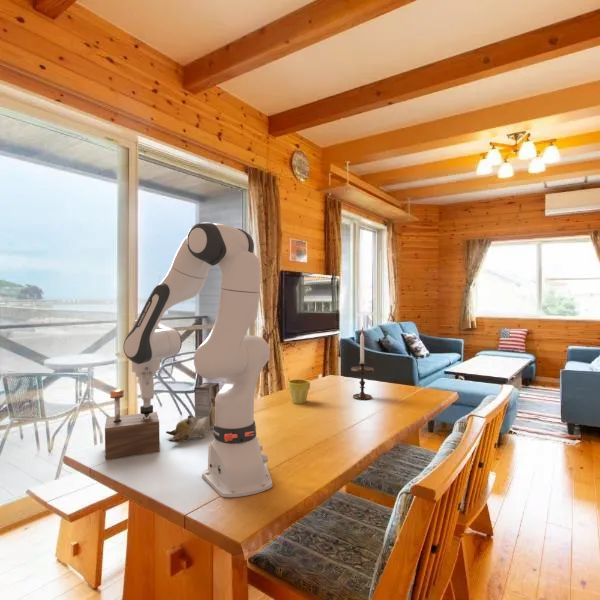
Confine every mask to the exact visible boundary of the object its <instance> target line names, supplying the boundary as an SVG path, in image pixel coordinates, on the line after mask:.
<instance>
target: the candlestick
mask: <svg viewBox="0 0 600 600" xmlns="http://www.w3.org/2000/svg"><path fill="white" fill-rule="evenodd" d="M363 332H364V328H363V326H362V327H361V334H360V336H359V337H360V338H359V342H360V343H359V347H360V348H359V353H360V354H359V357H360V358H359V359H360V360H359V362H358V364H359V366H357V365H356V366H352V367H350V371H351V372H354V373H359V374H360V381H359V385H360V386H359V388H360V393H356V394H353V395H352V399H354V400H358V401H369V400H371V399H372V398H373V397H372V395H371V394H369V393H365V390H364V389H365V388H366V387H365V384H366V381H365V379H364V377H365V376H364V375H365V374H366V373H368V374H369V373H372V372H373V373H374V371H375V370H374V367H371V366H365V364H367V362H365V335H364V333H363Z"/></svg>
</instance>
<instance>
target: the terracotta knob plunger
mask: <svg viewBox="0 0 600 600" xmlns="http://www.w3.org/2000/svg"><path fill="white" fill-rule="evenodd" d="M124 391H125V390H124V389H122V388H121V389H120V388H119V389H112V390H110V392H109V393H110V394H109V395H110V397H109V398H110V399H113V400H114V416H115V423H116V422H120V416H121V398H124V396H125V393H124Z"/></svg>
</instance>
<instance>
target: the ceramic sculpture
mask: <svg viewBox="0 0 600 600" xmlns="http://www.w3.org/2000/svg"><path fill="white" fill-rule="evenodd" d="M208 428H209V416H208V417H205V418H202V419H196V417H195V415H188V416H187V418H184V419H181V420H179V421H178V422H177V423H176V426H175V429H173V430H171V431H165V433H166V434H168V435H169V436H172V437H171V438H170V439H168V440H167V441H168V442H170V443H182V442H184V441H189V440H193V439H194V438H197V437H199V438H201V439H204V438H205V437H206V436H207V433H208V431H209V430H208Z"/></svg>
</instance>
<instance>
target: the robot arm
mask: <svg viewBox="0 0 600 600" xmlns="http://www.w3.org/2000/svg"><path fill="white" fill-rule="evenodd" d="M254 250H255V243H254V239H253V238H252V236H251V234H250V233H248V232H246V231H245V230H243V229H241V228H235V227H233V226H229V225H227V224H223V223H213V222H210V221H207V222H199V223H196V224H194V225H192V226H191V228H189V230H188V232H187V235H186V237H185V238H184V239H183V240H182V241H181V243H180V245H179V247H178V249H177V251H176V253H175V255H174V258H173V260H172V263H171V266H170V268H169V270H168V272H167V273H166V275H165V276H164V278H163V279H162V280H161V282H160V283H158V284H157V285H156V286H155V287H154V288H153V290H152V291H151V293H150V295H149V297H148V298H147V300H146V302H145V304H144V307H143V308H142V310H141V312H140V314H139V316H138V318H137V319H135V320H134V321H133V323H132V327H131V328H132V329H131V330H130V332H128V333H127V336H126V337H125V339H124V341H123V346H122V347H123V353H124V354H125V356H126V357H127V359H129V360H130V361H131V372H132V373H135V376H136V377H137V378H138V384H139V389H140V397H141V400H143V401H142V402H143V403H142V404H143V405H144V407H145V408H146V407H149V406H150V405H151V404H150V401H151V400H153V399H154V398H155V397H154V396H155V393H154V392H155V391H154V390H155V388H154V387H155V385H154V384H155V383H154V376H156V375H157V372H159V371H160V369H161V363H160V362H161V360H162V359H166V358H171V357H175V356H176V355H178V354H179V352H180V351H181V349H182V347H183V346H182V345H183V344H182V343H183V341H182V339H183V338H182V335H181V334H180V333H179V332H180V331H178V330H177V329H175V328H173V327H169V326H167V325H165V324H163V323H161V322H160V321H161V319H162V318H163V316H164V314H165V313H166V312H167V311H168V310H169V309H171V308H172V307H174V306H175V305H177V304H181V303H182V302H185V301H187V300H191V299H193V298H194V297H196V296H197V295H199V294H200V293H201V291H202V290H203V287H204V286H205V283H206V280H207V277H208V276H209V275H208V274H209V271H210V270H211V269H210V268H211V266H212V267H213V266H216V265H218V267H219V268H220V271H221V283H220V293H219V299H218V300H219V301H218V310H217V315H216V319H215V321H214V324H213V326H212V328H211V330H210V332H209V334H208V335H207V337H206V338H205V340H204V341H203V342H202V343H201V344H200V345H199V346H197V348H196V349H195V352H194V356H193V365H194V369H195V370H196V372H197V374H198V375H199V376H200V377H202V378H203V379H207V380H222V379H225V380H224V383H223V385H222V387H221V388H219V392H218V393H217V395H216V398H215V423H214V428H212V430H213V440H212V441H211V443H209V445H208V449H207V450H208V451H207V452H208V453H207V469H205V470H204V471H202V473H201V477H202V479H204V480H205V481H206V482H207V483H208V484H209V486H210V487H211V488H212V489H213V490H214V491H215V492H216V493H218V495H219V496H221V497H223V498H240V497H247V496H250V495H255V494H259V493H262V492H265V491H267V490H269V489H271V488H273V481H272V477H271V474H270V471H269V467H268V461H269V460H268V458H269V457H268V454H267V453H263V454H262V451H264V447H263V445H260V442H259V437H258V436H257V426H256V421H255V417H254V416H255V415H254V408H255V392H256V388H257V384H258V381H259V377H260V375H261V373H262V371H263V369H264V367H265V365H266V364H267V363H268V361H269V360H270V353H271V352H270V347H269V343H268V342H267V341H266V340H265V339H264V338H263V337H261V336H257V335H249V334H247V332H248V330H249V329H250V327H251V326H252V325H253V324H254V323H255V321H256V320H257V318H258V312H259V303H260V294H261V292H260V291H261V266H260V265H261V264H260V260H259V258H258V256H257V255H256V254H254ZM246 334H247V335H246ZM143 405H142V406H143Z"/></svg>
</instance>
